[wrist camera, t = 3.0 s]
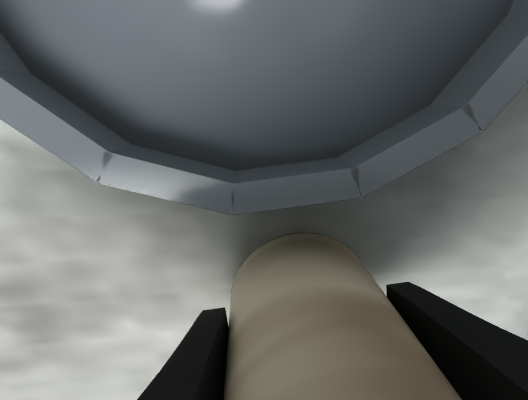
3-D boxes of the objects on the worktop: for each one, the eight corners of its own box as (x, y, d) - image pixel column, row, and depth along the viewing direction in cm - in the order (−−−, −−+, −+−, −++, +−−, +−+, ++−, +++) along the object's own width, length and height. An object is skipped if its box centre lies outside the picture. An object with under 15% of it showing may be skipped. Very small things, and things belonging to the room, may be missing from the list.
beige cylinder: (397, 284, 11) (574, 495, 5) (309, 377, 12) (373, 650, 6) (290, 204, 10) (356, 350, 4) (202, 311, 11) (153, 559, 5)
